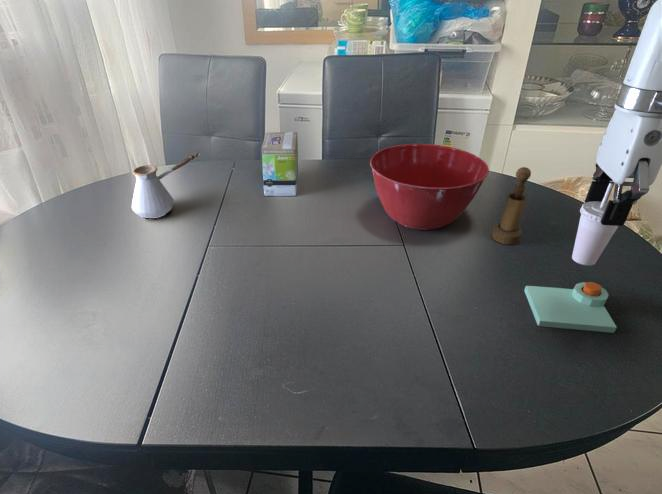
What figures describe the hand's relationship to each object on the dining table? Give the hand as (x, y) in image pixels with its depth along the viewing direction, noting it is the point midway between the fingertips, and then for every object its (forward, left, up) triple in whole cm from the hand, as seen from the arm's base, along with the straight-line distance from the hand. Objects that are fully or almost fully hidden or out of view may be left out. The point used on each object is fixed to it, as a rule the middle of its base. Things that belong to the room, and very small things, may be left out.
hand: (603, 213), depth 72 cm
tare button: (-6, -5, -19) cm, 21 cm away
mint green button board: (-1, -2, -22) cm, 22 cm away
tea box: (+66, -53, -22) cm, 87 cm away
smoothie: (0, 0, -9) cm, 9 cm away
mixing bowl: (+25, -37, -22) cm, 50 cm away
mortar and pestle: (+5, -29, -22) cm, 37 cm away
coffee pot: (+94, -34, -22) cm, 102 cm away
